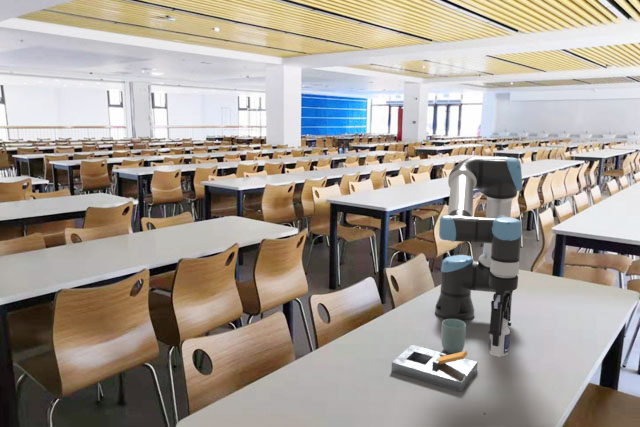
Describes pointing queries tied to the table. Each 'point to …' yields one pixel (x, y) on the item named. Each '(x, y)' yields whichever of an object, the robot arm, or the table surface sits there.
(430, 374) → the hitch plate
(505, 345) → the pill bottle
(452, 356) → the lever
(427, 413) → the table surface
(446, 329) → the cup
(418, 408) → the table surface
